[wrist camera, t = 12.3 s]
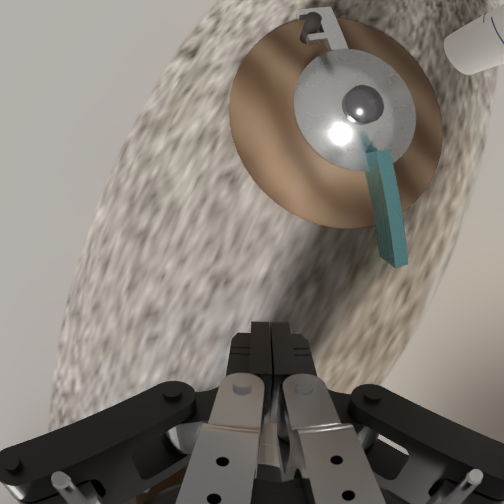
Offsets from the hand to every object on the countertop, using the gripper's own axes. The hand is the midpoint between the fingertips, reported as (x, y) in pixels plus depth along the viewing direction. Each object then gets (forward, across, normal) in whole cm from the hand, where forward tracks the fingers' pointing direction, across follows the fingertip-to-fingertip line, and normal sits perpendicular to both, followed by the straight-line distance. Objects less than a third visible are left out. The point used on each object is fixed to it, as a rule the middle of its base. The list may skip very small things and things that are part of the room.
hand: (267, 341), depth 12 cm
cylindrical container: (+26, -30, -29) cm, 49 cm away
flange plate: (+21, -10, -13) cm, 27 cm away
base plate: (+26, -10, -15) cm, 31 cm away
